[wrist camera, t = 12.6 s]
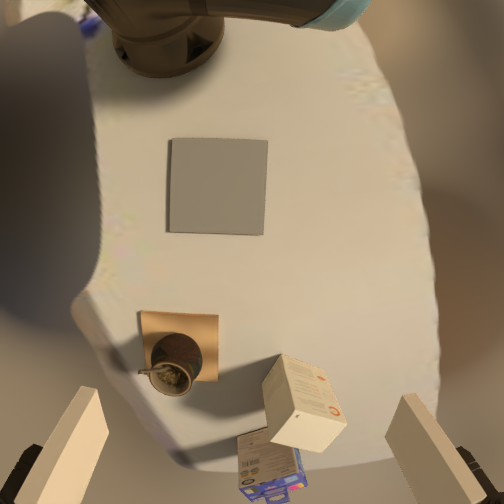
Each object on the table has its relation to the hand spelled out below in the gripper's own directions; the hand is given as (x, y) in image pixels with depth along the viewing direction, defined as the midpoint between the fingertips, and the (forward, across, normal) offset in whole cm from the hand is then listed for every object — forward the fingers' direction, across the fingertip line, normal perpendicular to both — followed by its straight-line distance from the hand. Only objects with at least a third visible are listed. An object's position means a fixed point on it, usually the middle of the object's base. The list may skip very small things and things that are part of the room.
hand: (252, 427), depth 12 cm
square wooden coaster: (+31, -8, -15) cm, 35 cm away
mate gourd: (+30, -8, -15) cm, 34 cm away
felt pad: (+31, -4, +8) cm, 32 cm away
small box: (+31, +9, -20) cm, 38 cm away
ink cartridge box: (+31, +6, -34) cm, 46 cm away
